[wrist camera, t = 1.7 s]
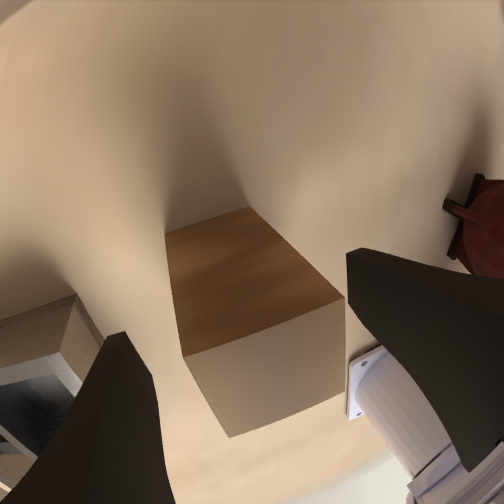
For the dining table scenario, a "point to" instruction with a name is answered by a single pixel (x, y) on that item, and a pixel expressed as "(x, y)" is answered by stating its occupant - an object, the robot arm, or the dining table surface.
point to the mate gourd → (480, 228)
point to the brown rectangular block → (254, 321)
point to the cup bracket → (40, 378)
